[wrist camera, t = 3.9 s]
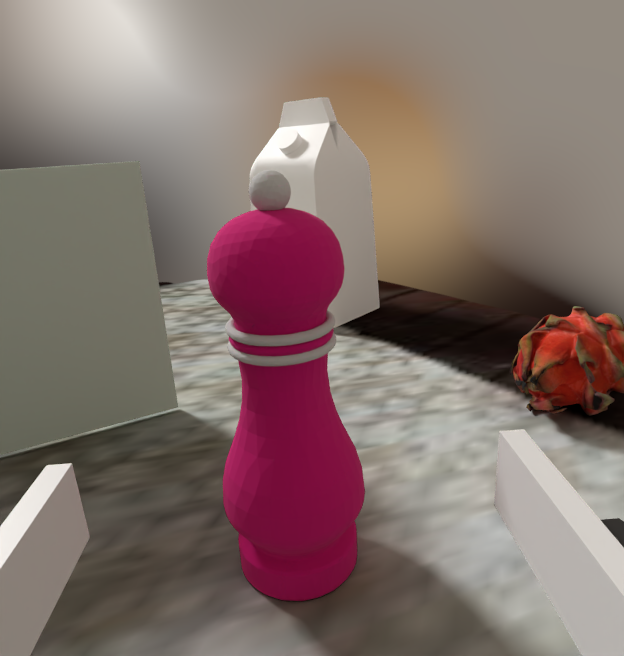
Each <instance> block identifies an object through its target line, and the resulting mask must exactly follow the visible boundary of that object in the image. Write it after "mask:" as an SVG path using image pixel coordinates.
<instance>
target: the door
mask: <svg viewBox="0 0 624 656" xmlns="http://www.w3.org/2000/svg"><path fill="white" fill-rule="evenodd" d="M177 407H178V403H177V396H176V390H175V384H174V377H173V371H172V365H171V358H170V352H169V346H168V340H167V333H166V327H165V321H164V314H163V308H162V302H161V295H160V289H159V283H158V276H157V270H156V264H155V258H154V252H153V246H152V239H151V232H150V226H149V220H148V213H147V207H146V201H145V194H144V189H143V182H142V176H141V169H140V163H139V161H135V162H120V163H105V164H104V163H103V164H89V165H73V166H57V167H42V168H26V169H10V170H0V455H2V454H6V453H9V452H13V451H17V450H21V449H24V448H28V447H32V446H36V445H39V444H43V443H47V442H50V441H54V440H58V439H62V438H65V437H69V436H73V435H76V434H80V433H84V432H88V431H91V430H95V429H99V428H103V427H106V426H110V425H114V424H117V423H121V422H125V421H129V420H132V419H136V418H140V417H143V416H147V415H151V414H155V413H158V412H162V411H166V410H170V409H173V408H177Z"/></svg>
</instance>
